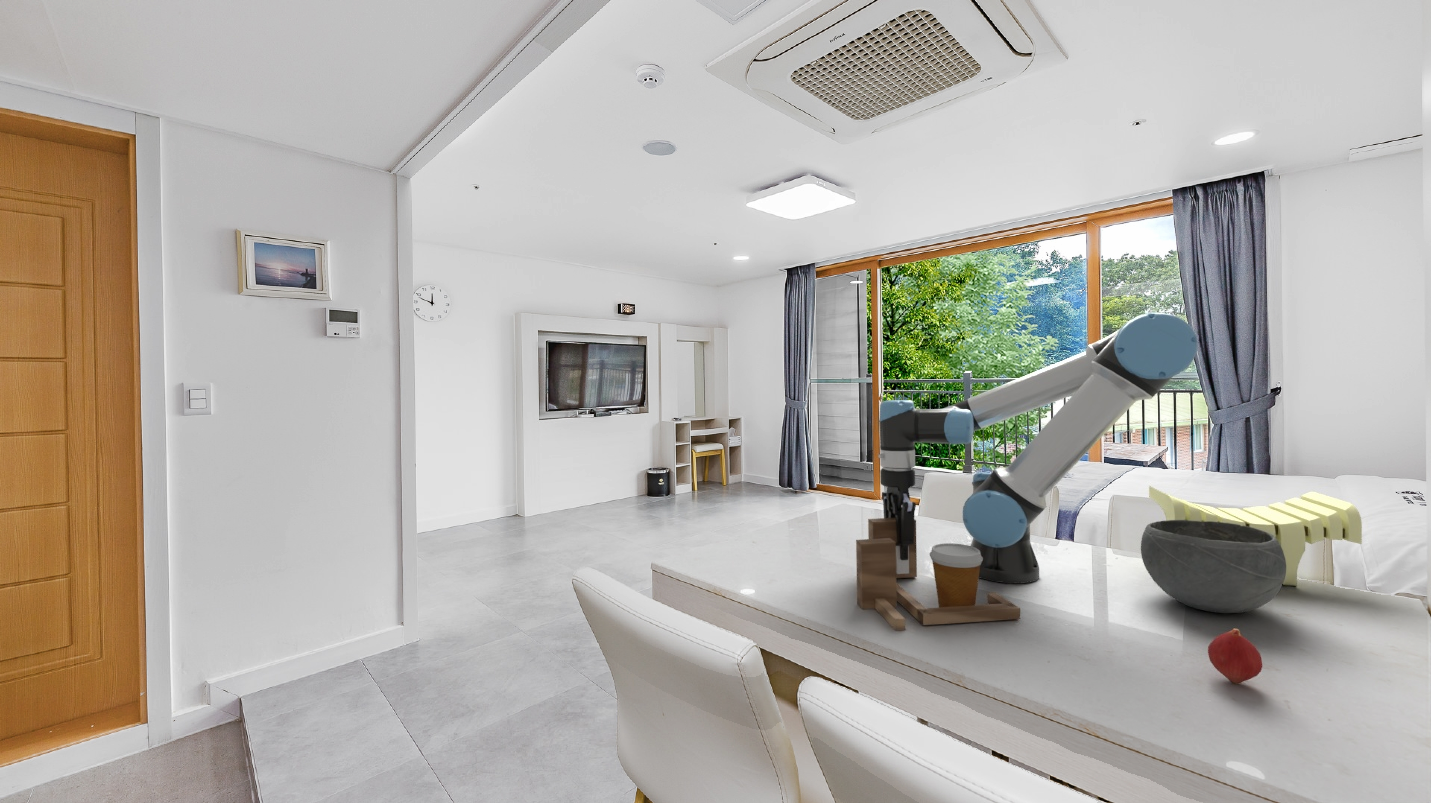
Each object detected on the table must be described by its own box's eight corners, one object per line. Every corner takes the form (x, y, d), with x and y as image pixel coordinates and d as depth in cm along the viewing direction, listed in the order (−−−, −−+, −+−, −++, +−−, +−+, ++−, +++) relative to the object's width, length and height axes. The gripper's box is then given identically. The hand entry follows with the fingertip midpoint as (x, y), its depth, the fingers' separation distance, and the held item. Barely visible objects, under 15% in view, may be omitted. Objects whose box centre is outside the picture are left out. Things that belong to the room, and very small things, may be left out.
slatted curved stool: (1174, 580, 123) (1174, 498, 122) (1149, 558, 138) (1149, 485, 137) (1360, 595, 112) (1361, 506, 111) (1311, 570, 127) (1312, 491, 126)
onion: (1197, 673, 85) (1197, 620, 84) (1232, 670, 85) (1232, 618, 85) (1236, 694, 79) (1236, 638, 79) (1273, 691, 79) (1274, 635, 79)
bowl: (1283, 602, 109) (1283, 526, 109) (1289, 641, 94) (1290, 551, 94) (1147, 579, 124) (1147, 511, 123) (1133, 609, 108) (1133, 531, 108)
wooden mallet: (857, 603, 115) (856, 539, 114) (890, 601, 115) (889, 538, 115) (881, 631, 102) (880, 559, 101) (919, 628, 102) (918, 557, 102)
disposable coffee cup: (989, 622, 104) (988, 557, 104) (934, 619, 106) (933, 555, 106) (977, 602, 113) (976, 543, 113) (926, 600, 115) (925, 541, 115)
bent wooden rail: (869, 574, 130) (868, 518, 130) (947, 570, 132) (946, 515, 131) (922, 625, 103) (921, 554, 103) (1020, 618, 105) (1019, 549, 104)
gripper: (868, 463, 136) (870, 560, 137) (895, 474, 120) (897, 583, 121) (898, 462, 137) (900, 558, 138) (929, 472, 121) (931, 581, 122)
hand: (899, 570), depth 129 cm, fingers closed on bent wooden rail, 3 cm apart
